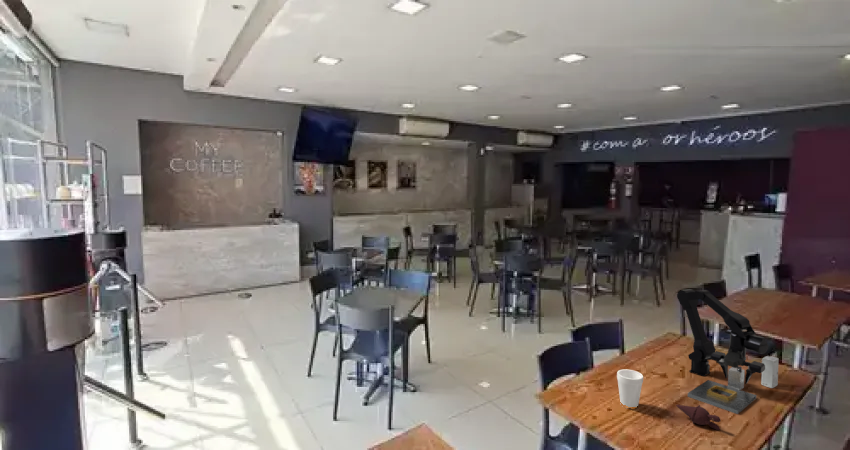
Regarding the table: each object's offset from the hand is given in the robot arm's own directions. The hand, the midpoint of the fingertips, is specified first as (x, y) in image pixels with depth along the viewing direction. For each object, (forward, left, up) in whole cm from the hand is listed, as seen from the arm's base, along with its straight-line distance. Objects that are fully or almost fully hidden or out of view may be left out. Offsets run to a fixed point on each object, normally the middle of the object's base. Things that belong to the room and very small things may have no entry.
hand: (735, 380), depth 191 cm
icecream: (+2, -44, -3) cm, 44 cm away
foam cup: (-20, -51, -3) cm, 55 cm away
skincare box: (+8, +14, -3) cm, 16 cm away
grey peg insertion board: (0, -15, -3) cm, 15 cm away
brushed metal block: (0, 0, -3) cm, 3 cm away
